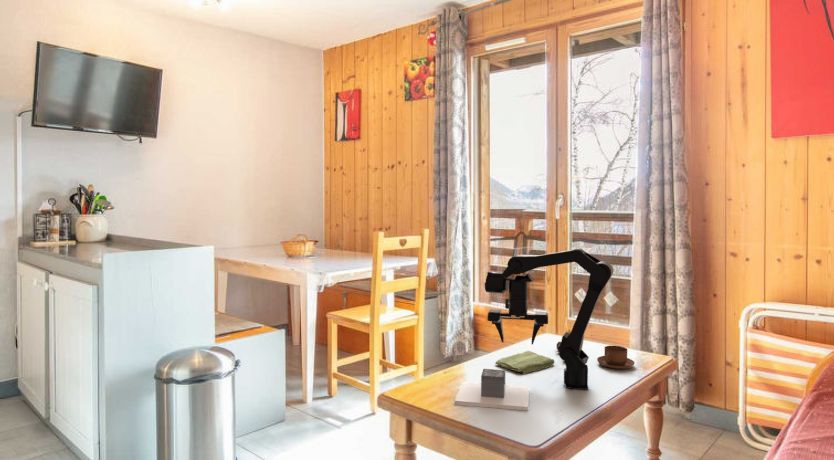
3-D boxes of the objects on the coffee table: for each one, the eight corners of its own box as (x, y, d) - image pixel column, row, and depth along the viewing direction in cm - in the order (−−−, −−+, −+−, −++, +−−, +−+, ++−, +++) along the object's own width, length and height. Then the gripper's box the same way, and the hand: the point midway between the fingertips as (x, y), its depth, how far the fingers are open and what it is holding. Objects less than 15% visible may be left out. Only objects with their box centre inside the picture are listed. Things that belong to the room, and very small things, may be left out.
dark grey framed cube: (505, 390, 158) (505, 370, 158) (503, 398, 152) (504, 377, 152) (483, 388, 160) (483, 368, 159) (481, 396, 153) (481, 375, 153)
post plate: (529, 390, 161) (529, 373, 161) (527, 410, 146) (528, 392, 145) (462, 384, 166) (462, 368, 165) (454, 404, 150) (454, 386, 150)
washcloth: (493, 366, 185) (493, 357, 185) (529, 357, 196) (529, 348, 195) (521, 376, 175) (521, 366, 175) (557, 366, 185) (557, 357, 185)
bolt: (562, 355, 204) (572, 366, 189) (550, 348, 204) (560, 359, 189) (570, 342, 204) (581, 352, 189) (558, 335, 204) (568, 344, 189)
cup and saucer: (631, 373, 177) (631, 355, 176) (593, 368, 183) (594, 350, 182) (636, 364, 187) (637, 346, 187) (600, 359, 193) (601, 342, 193)
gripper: (548, 291, 177) (547, 338, 178) (490, 289, 181) (490, 335, 182) (548, 297, 166) (547, 347, 167) (487, 295, 170) (487, 344, 171)
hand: (517, 343), depth 172 cm, fingers open, 9 cm apart
